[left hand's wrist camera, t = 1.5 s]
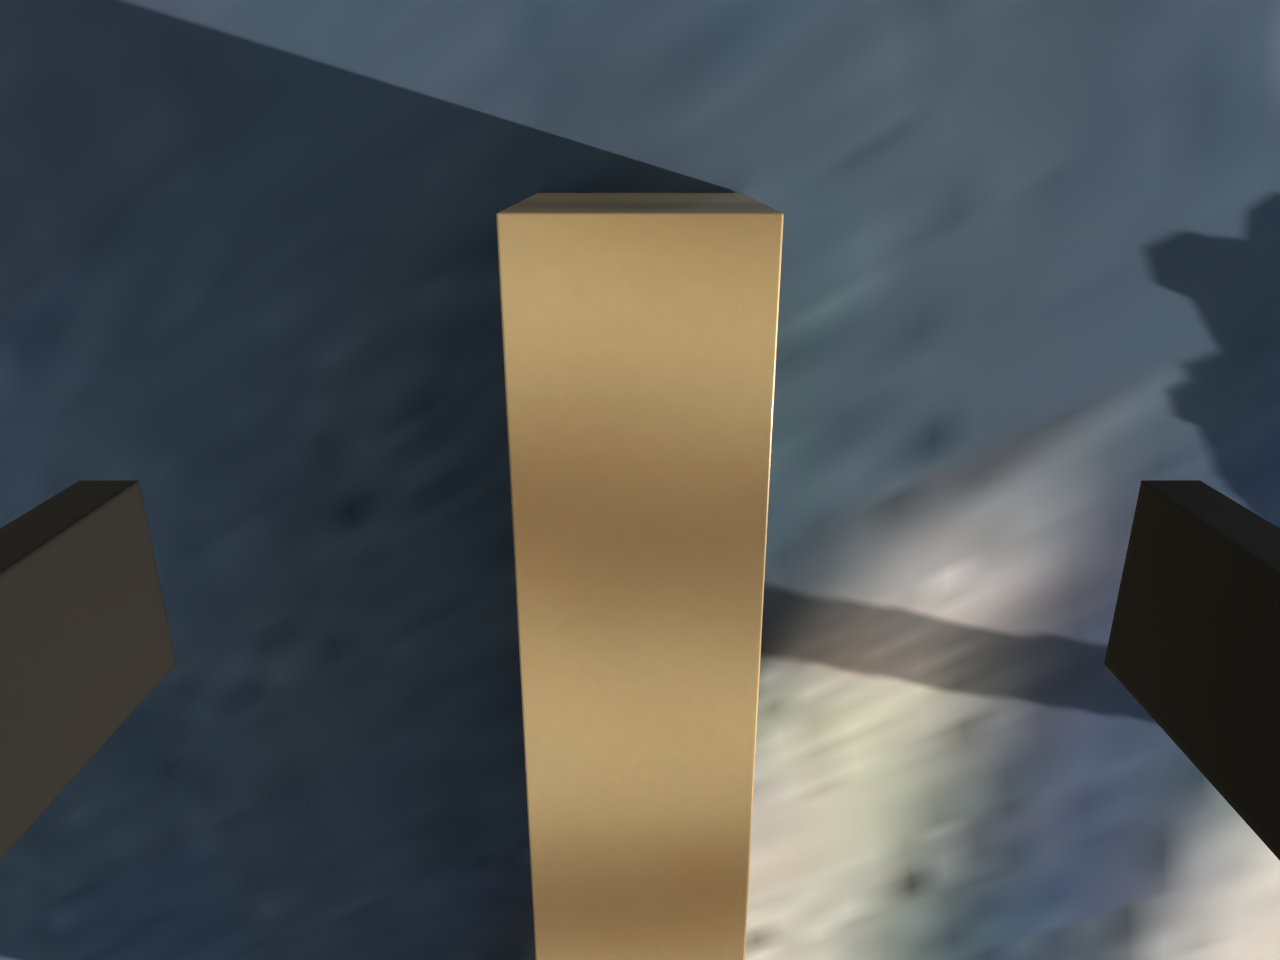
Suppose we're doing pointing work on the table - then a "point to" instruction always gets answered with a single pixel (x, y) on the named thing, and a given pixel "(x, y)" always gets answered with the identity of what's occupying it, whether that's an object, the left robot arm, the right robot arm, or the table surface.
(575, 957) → the ash beam
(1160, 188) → the table surface
